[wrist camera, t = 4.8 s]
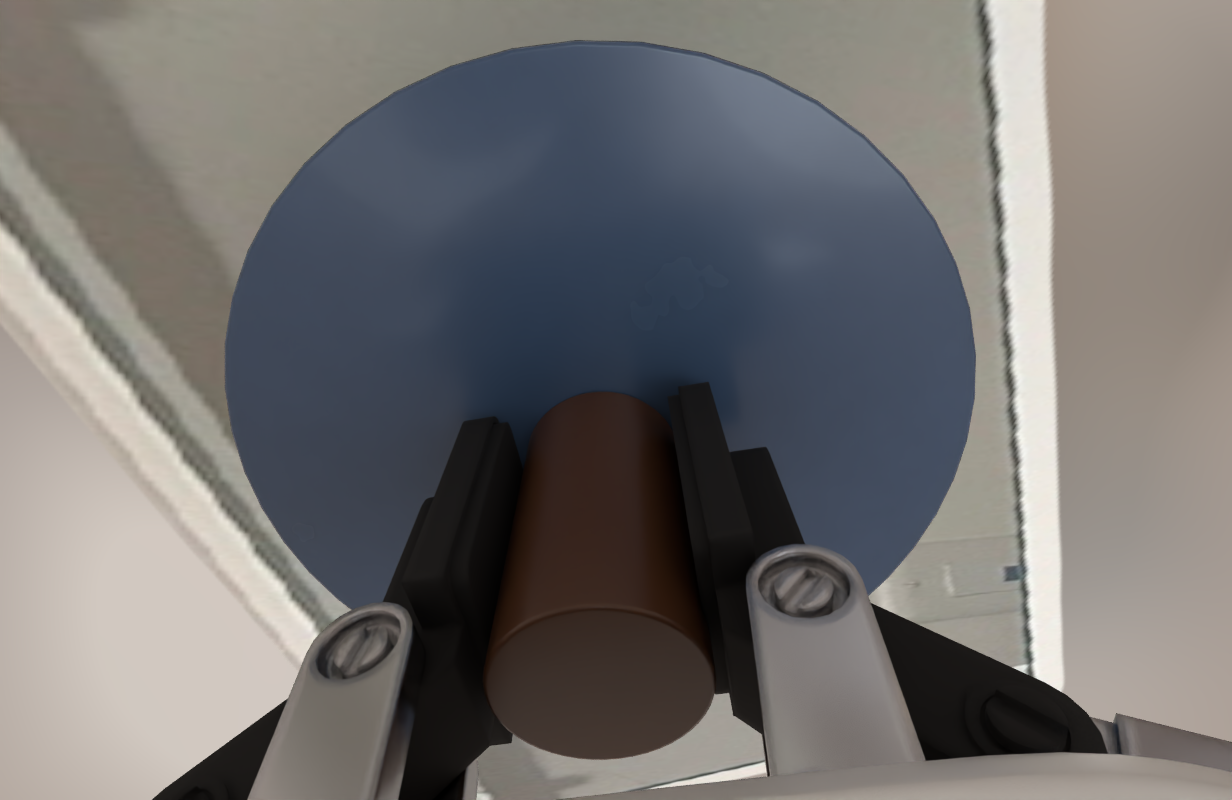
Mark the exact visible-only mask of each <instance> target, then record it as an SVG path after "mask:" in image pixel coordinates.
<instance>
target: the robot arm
mask: <svg viewBox="0 0 1232 800" xmlns="http://www.w3.org/2000/svg"><path fill="white" fill-rule="evenodd" d="M678 391H679V395H673V396H667V397H668V404H669V410H670V416H671V422H672V429H673V435H674V441H675V448H676V454H677V460H678V466H679V472H680V478H681V485H682V491H683V497H684V503H685V509H686V515H687V521H688V528H689V534H690V540H691V546H692V552H693V558H694V564H695V571H696V577H697V583H698V589H699V595H700V601H701V608H702V612H703V614H704V616H705V618H706V620H707V624H708V628H709V633H710V639H711V645H712V651H713V657H714V663H715V668H716V680H717V682H716V689H715V694H723V693H729V694H730V699H731V705H732V710H733V716H736V717H737V718H739V719H740V720H742V721H743V722H745V723H746V724H748V725H749V726H751V727H752V728H754V729H755V730H756V731H758V732H759V733H761V734H762V741H763V748H764V756H765V764H766V771H767V777H760V778H751V779H741V780H732V781H722V782H713V783H704V784H694V785H685V786H676V787H666V788H657V789H648V790H638V791H630V792H621V793H612V794H603V795H594V796H585V797H576V798H567V799H558V800H1232V742H1229V741H1225V740H1221V739H1217V738H1213V737H1209V736H1205V735H1201V734H1197V733H1193V732H1189V731H1185V730H1181V729H1177V728H1173V727H1169V726H1165V725H1161V724H1157V723H1153V722H1149V721H1145V720H1141V719H1137V718H1133V717H1129V716H1125V715H1121V714H1117V713H1116V715H1115V719H1114V722H1113V723H1112V722H1108V721H1104V720H1100V719H1096V718H1092V717H1089V715H1088V714H1087V713H1086V712H1085V711H1084V710H1083V709H1082V708H1081V707H1080V706H1079V705H1077V704H1076V703H1075V702H1074V701H1073V700H1072V699H1071V698H1069V697H1068V696H1067V695H1065V694H1064V693H1062V692H1060V691H1058V690H1057V689H1055V688H1053V687H1052V686H1050V685H1048V684H1046V683H1045V682H1042V681H1040V680H1038V679H1036V678H1034V677H1031V676H1029V675H1027V674H1025V673H1023V672H1020V671H1018V670H1016V669H1014V668H1012V667H1010V666H1007V665H1005V664H1003V663H1001V662H999V661H996V660H994V659H992V658H990V657H988V656H986V655H983V654H981V653H979V652H977V651H975V650H972V649H970V648H968V647H966V646H964V645H961V644H959V643H957V642H955V641H953V640H951V639H948V638H946V637H944V636H942V635H940V634H937V633H935V632H933V631H931V630H929V629H926V628H924V627H922V626H920V625H918V624H916V623H913V622H911V621H909V620H907V619H905V618H902V617H900V616H898V615H896V614H894V613H892V612H889V611H887V610H885V609H883V608H881V607H878V606H876V605H874V604H872V603H870V600H869V597H868V594H867V591H866V588H865V585H864V583H863V580H862V578H861V576H860V574H859V573H858V571H857V569H856V567H855V566H854V565H853V564H852V563H851V562H849V561H848V560H847V559H846V558H845V557H844V556H842V555H840V554H838V553H836V552H834V551H832V550H830V549H828V548H824V547H820V546H816V545H811V544H805V543H804V540H803V537H802V535H801V532H800V530H799V527H798V525H797V522H796V519H795V517H794V514H793V512H792V509H791V507H790V504H789V501H788V499H787V496H786V494H785V491H784V489H783V486H782V484H781V481H780V478H779V476H778V473H777V471H776V468H775V466H774V463H773V460H772V458H771V455H770V453H769V451H768V449H767V447H759V448H753V449H746V450H739V451H733V452H729V449H728V446H727V442H726V439H725V435H724V432H723V429H722V425H721V422H720V418H719V415H718V411H717V408H716V405H715V401H714V398H713V394H712V391H711V387H710V384H709V382H704V383H697V384H691V385H685V386H679V387H678ZM522 474H523V466H522V463H521V460H520V456H519V453H518V450H517V447H516V443H515V440H514V437H513V433H512V430H511V427H510V425H509V423H507V422H505V423H499V421H498V419H497V418H496V417H495V416H492V417H486V418H480V419H474V420H467V421H464V422H463V423H462V425H461V428H460V431H459V433H458V436H457V438H456V441H455V444H454V446H453V449H452V451H451V454H450V457H449V459H448V462H447V464H446V467H445V470H444V472H443V475H442V477H441V480H440V483H439V485H438V488H437V490H436V493H435V496H434V497H430V498H428V499H426V500H425V501H424V503H423V504H422V506H421V508H420V511H419V513H418V516H417V518H416V521H415V523H414V526H413V528H412V531H411V533H410V536H409V538H408V541H407V543H406V545H405V548H404V550H403V553H402V555H401V558H400V560H399V563H398V565H397V568H396V570H395V573H394V575H393V578H392V580H391V583H390V585H389V587H388V590H387V592H386V595H385V597H384V600H383V602H378V603H370V604H367V605H364V606H361V607H357V608H355V609H353V610H351V611H349V612H347V613H345V614H343V615H342V616H340V617H339V618H337V619H336V620H335V621H333V622H332V623H331V624H329V625H328V626H327V627H326V628H325V629H324V630H323V631H322V632H321V633H320V634H319V635H318V636H317V637H316V639H315V640H314V641H313V643H312V645H311V646H310V648H309V650H308V652H307V653H306V656H305V658H304V661H303V663H302V665H301V668H300V670H299V673H298V675H297V678H296V680H295V683H294V685H293V688H292V690H291V693H290V695H289V698H288V699H287V700H285V701H284V702H282V703H281V704H280V705H278V706H277V707H276V708H274V709H273V710H272V711H270V712H269V713H267V714H266V715H265V716H263V717H262V718H260V719H259V720H258V721H256V722H255V723H254V724H252V725H251V726H250V727H248V728H247V729H246V730H244V731H243V732H241V733H240V734H239V735H237V736H236V737H235V738H233V739H232V740H230V741H229V742H228V743H226V744H225V745H224V746H222V747H221V748H220V749H218V750H217V751H215V752H214V753H213V754H211V755H210V756H209V757H207V758H206V759H205V760H203V761H202V762H200V763H199V764H198V765H196V766H195V767H194V768H192V769H191V770H189V771H188V772H187V773H185V774H184V775H183V776H181V777H180V778H179V779H177V780H176V781H174V782H173V783H172V784H170V785H169V786H168V787H166V788H165V789H164V790H163V791H161V792H160V793H159V794H158V795H157V796H156V797H154V798H153V799H152V800H476V797H477V786H478V776H479V771H478V760H477V757H478V756H480V755H481V754H482V753H483V752H484V751H485V750H486V749H487V748H488V747H489V746H491V745H499V744H508V743H511V742H512V735H513V734H512V733H511V732H510V731H508V730H507V729H506V728H505V727H504V726H503V725H502V724H501V723H500V722H499V721H498V719H497V718H496V717H495V715H494V714H493V713H492V711H491V709H490V707H489V705H488V703H487V700H486V697H485V693H484V689H483V670H484V665H485V660H486V655H487V650H488V645H489V640H490V635H491V630H492V625H493V620H494V615H495V610H496V605H497V600H498V595H499V590H500V585H501V580H502V575H503V570H504V565H505V560H506V555H507V550H508V545H509V540H510V535H511V530H512V525H513V519H514V514H515V509H516V504H517V499H518V494H519V489H520V484H521V479H522Z"/></svg>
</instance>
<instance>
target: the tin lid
mask: <svg viewBox="0 0 1232 800" xmlns="http://www.w3.org/2000/svg"><path fill="white" fill-rule="evenodd" d="M975 366H976V352H975V345H974V337H973V329H972V322H971V314H970V307H969V304H968V301H967V297H966V294H965V291H964V287H963V284H962V281H961V277H960V274H959V271H958V267H957V264H956V261H955V259H954V257H953V255H952V253H951V251H950V249H949V247H948V245H947V243H946V241H945V239H944V237H943V235H942V233H941V231H940V229H939V227H938V225H937V222H936V220H935V218H934V217H933V215H932V214H931V213H930V211H929V210H928V208H927V207H926V206H925V204H924V203H923V201H922V200H921V198H920V197H919V196H918V194H917V193H916V191H915V190H914V189H913V187H912V186H911V184H910V183H909V182H908V180H907V179H906V177H905V176H904V175H903V174H902V173H901V172H900V171H899V170H898V169H897V168H896V167H895V165H894V164H893V163H892V162H891V161H890V160H889V159H888V158H887V157H886V156H885V155H884V154H883V153H882V152H881V151H880V150H879V149H878V148H877V147H876V146H875V145H874V144H873V143H872V142H871V141H870V140H869V139H868V138H867V137H866V136H865V135H864V134H862V133H861V132H859V131H858V130H857V129H855V128H854V127H853V126H851V125H850V124H849V123H847V122H846V121H844V120H843V119H842V118H840V117H839V116H838V115H836V114H835V113H834V112H832V111H831V110H829V109H828V108H827V107H825V106H824V105H823V104H821V103H820V102H819V101H817V100H815V99H813V98H811V97H809V96H807V95H805V94H803V93H802V92H800V91H798V90H796V89H794V88H792V87H790V86H788V85H786V84H784V83H782V82H780V81H778V80H776V79H774V78H772V77H771V76H769V75H767V74H765V73H762V72H759V71H756V70H753V69H750V68H748V67H745V66H742V65H739V64H736V63H733V62H730V61H727V60H724V59H721V58H718V57H715V56H712V55H709V54H706V53H702V52H696V51H690V50H685V49H679V48H673V47H667V46H662V45H656V44H650V43H645V42H627V41H583V40H574V41H567V42H559V43H551V44H543V45H535V46H527V47H520V48H512V49H508V50H505V51H501V52H498V53H494V54H491V55H487V56H484V57H480V58H477V59H473V60H470V61H466V62H463V63H459V64H456V65H452V66H450V67H447V68H445V69H443V70H441V71H439V72H437V73H434V74H432V75H430V76H428V77H426V78H424V79H421V80H419V81H417V82H415V83H413V84H411V85H408V86H406V87H404V88H402V89H400V90H398V91H395V92H394V93H392V94H391V95H389V96H388V97H386V98H385V99H383V100H382V101H380V102H379V103H377V104H376V105H374V106H373V107H371V108H370V109H368V110H367V111H365V112H364V113H362V114H361V115H359V116H358V117H356V118H355V119H353V120H352V121H350V122H349V123H347V124H346V125H345V126H344V127H343V128H342V129H340V130H339V131H338V132H337V133H336V134H335V135H334V136H333V137H332V138H331V139H330V140H329V141H328V142H327V143H325V144H324V145H323V146H322V147H321V148H320V149H319V150H318V151H317V152H316V153H315V154H314V155H313V156H312V157H310V158H309V159H308V160H307V161H306V162H305V163H304V164H303V166H302V167H301V168H300V170H299V171H298V172H297V173H296V175H295V176H294V177H293V179H292V180H291V181H290V183H289V184H288V185H287V186H286V188H285V189H284V190H283V192H282V193H281V194H280V196H279V197H278V198H277V199H276V201H275V202H274V203H273V205H272V206H271V208H270V210H269V212H268V214H267V215H266V217H265V219H264V221H263V223H262V225H261V227H260V229H259V230H258V232H257V234H256V236H255V238H254V240H253V242H252V244H251V245H250V247H249V249H248V251H247V254H246V257H245V260H244V263H243V266H242V269H241V272H240V275H239V278H238V281H237V284H236V287H235V290H234V293H233V296H232V302H231V308H230V315H229V321H228V327H227V333H226V340H225V392H226V398H227V405H228V411H229V417H230V424H231V430H232V434H233V437H234V440H235V443H236V446H237V450H238V453H239V456H240V459H241V462H242V465H243V469H244V472H245V474H246V476H247V478H248V480H249V482H250V484H251V486H252V488H253V490H254V493H255V495H256V497H257V499H258V501H259V503H260V505H261V507H262V509H263V511H264V512H265V514H266V515H267V517H268V518H269V520H270V521H271V523H272V525H273V526H274V528H275V529H276V531H277V532H278V534H279V535H280V537H281V538H282V540H283V542H284V543H285V544H286V545H287V546H288V548H289V549H290V550H291V551H292V552H293V554H294V555H295V556H296V557H297V558H298V560H299V561H300V562H301V563H302V564H303V565H304V567H305V568H306V569H307V570H308V571H309V573H310V574H312V575H313V576H314V577H315V578H316V579H317V580H318V581H319V582H320V583H321V584H322V585H323V586H324V587H325V588H326V589H327V590H328V591H329V592H331V593H332V594H333V595H334V596H335V597H336V598H337V599H338V600H339V601H341V602H342V603H343V604H345V605H346V606H347V607H348V608H350V609H351V610H353V609H355V608H357V607H361V606H364V605H367V604H370V603H378V602H383V600H384V597H385V595H386V592H387V590H388V587H389V585H390V583H391V580H392V578H393V575H394V573H395V570H396V568H397V565H398V563H399V560H400V558H401V555H402V553H403V550H404V548H405V545H406V543H407V541H408V538H409V536H410V533H411V531H412V528H413V526H414V523H415V521H416V518H417V516H418V513H419V511H420V508H421V506H422V504H423V503H424V501H425V500H426V499H428V498H430V497H434V496H435V493H436V490H437V488H438V485H439V483H440V480H441V477H442V475H443V472H444V470H445V467H446V464H447V462H448V459H449V457H450V454H451V451H452V449H453V446H454V444H455V441H456V438H457V436H458V433H459V431H460V428H461V425H462V423H463V422H464V421H467V420H474V419H480V418H486V417H492V416H495V417H496V418H497V419H498V421H499V423H505V422H507V423H509V425H510V427H511V430H512V433H513V437H514V440H515V443H516V447H517V450H518V453H519V456H520V460H521V463H522V466H523V474H522V479H521V484H520V489H519V494H518V499H517V504H516V509H515V514H514V519H513V525H512V530H511V535H510V540H509V545H508V550H507V555H506V560H505V565H504V570H503V575H502V580H501V585H500V590H499V595H498V600H497V605H496V610H495V615H494V620H493V625H492V630H491V635H490V640H489V645H488V650H487V655H486V660H485V665H484V670H483V689H484V693H485V697H486V700H487V703H488V705H489V707H490V709H491V711H492V713H493V714H494V715H495V717H496V718H497V719H498V721H499V722H500V723H501V724H502V725H503V726H504V727H505V728H506V729H507V730H508V731H510V732H511V733H512V734H514V735H515V736H516V737H518V738H520V739H521V740H523V741H525V742H526V743H528V744H530V745H533V746H535V747H537V748H539V749H542V750H545V751H548V752H550V753H554V754H558V755H562V756H567V757H573V758H579V759H591V760H607V759H620V758H626V757H632V756H637V755H641V754H645V753H648V752H651V751H654V750H657V749H660V748H662V747H664V746H666V745H669V744H671V743H673V742H674V741H676V740H678V739H679V738H681V737H683V736H684V735H685V734H687V733H688V732H689V731H691V730H692V729H693V728H694V727H695V726H696V725H697V724H698V723H699V722H700V721H701V719H702V718H703V717H704V715H705V714H706V712H707V711H708V709H709V707H710V705H711V703H712V700H713V697H714V694H715V689H716V682H717V680H716V668H715V663H714V657H713V651H712V645H711V639H710V633H709V628H708V624H707V620H706V618H705V616H704V614H703V612H702V608H701V601H700V595H699V589H698V583H697V577H696V571H695V564H694V558H693V552H692V546H691V540H690V534H689V528H688V521H687V515H686V509H685V503H684V497H683V491H682V485H681V478H680V472H679V466H678V460H677V454H676V448H675V441H674V435H673V429H672V422H671V416H670V410H669V404H668V397H667V396H673V395H679V391H678V387H679V386H685V385H691V384H697V383H704V382H709V384H710V387H711V391H712V394H713V398H714V401H715V405H716V408H717V411H718V415H719V418H720V422H721V425H722V429H723V432H724V435H725V439H726V442H727V446H728V449H729V452H733V451H739V450H746V449H753V448H759V447H767V449H768V451H769V453H770V455H771V458H772V460H773V463H774V466H775V468H776V471H777V473H778V476H779V478H780V481H781V484H782V486H783V489H784V491H785V494H786V496H787V499H788V501H789V504H790V507H791V509H792V512H793V514H794V517H795V519H796V522H797V525H798V527H799V530H800V532H801V535H802V537H803V540H804V543H805V544H811V545H816V546H820V547H824V548H828V549H830V550H832V551H834V552H836V553H838V554H840V555H842V556H844V557H845V558H846V559H847V560H848V561H849V562H851V563H852V564H853V565H854V566H855V567H856V569H857V571H858V573H859V574H860V576H861V578H862V580H863V583H864V585H865V588H866V591H867V594H868V596H869V595H870V594H871V593H872V592H873V591H874V590H875V589H876V588H878V587H879V586H880V585H881V584H882V583H883V582H884V581H885V580H886V579H887V578H888V577H889V576H890V575H891V574H892V573H893V572H894V570H895V569H896V568H897V567H898V566H899V565H900V564H901V562H902V561H903V560H904V559H905V558H906V557H907V555H908V554H909V553H910V552H911V551H912V550H913V548H914V547H915V546H916V544H917V543H918V541H919V540H920V538H921V537H922V535H923V534H924V532H925V531H926V529H927V528H928V526H929V525H930V523H931V522H932V520H933V519H934V517H935V516H936V514H937V512H938V510H939V508H940V506H941V504H942V502H943V500H944V498H945V496H946V494H947V492H948V490H949V488H950V486H951V484H952V482H953V480H954V477H955V474H956V471H957V468H958V466H959V463H960V460H961V457H962V454H963V451H964V448H965V445H966V442H967V438H968V432H969V427H970V421H971V416H972V410H973V405H974V399H975Z"/></svg>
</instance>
